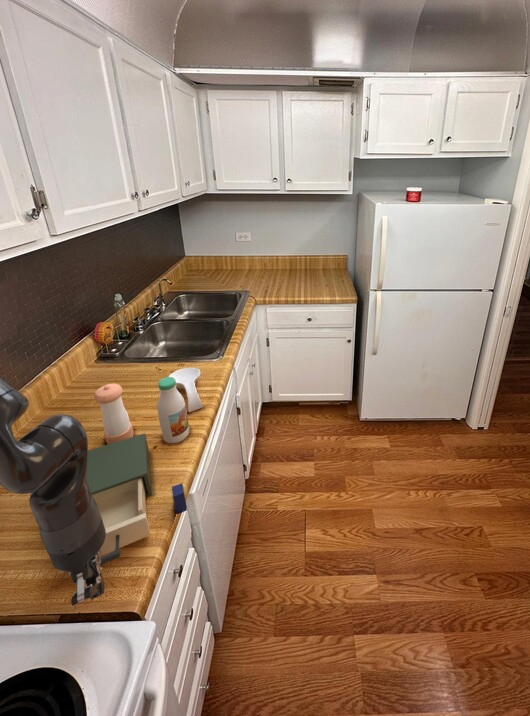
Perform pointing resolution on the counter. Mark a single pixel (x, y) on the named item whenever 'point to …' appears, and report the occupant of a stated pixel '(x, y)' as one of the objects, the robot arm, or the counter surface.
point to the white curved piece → (188, 385)
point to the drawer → (122, 517)
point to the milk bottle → (172, 412)
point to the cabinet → (119, 464)
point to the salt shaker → (113, 413)
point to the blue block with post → (179, 498)
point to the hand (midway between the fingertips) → (97, 592)
